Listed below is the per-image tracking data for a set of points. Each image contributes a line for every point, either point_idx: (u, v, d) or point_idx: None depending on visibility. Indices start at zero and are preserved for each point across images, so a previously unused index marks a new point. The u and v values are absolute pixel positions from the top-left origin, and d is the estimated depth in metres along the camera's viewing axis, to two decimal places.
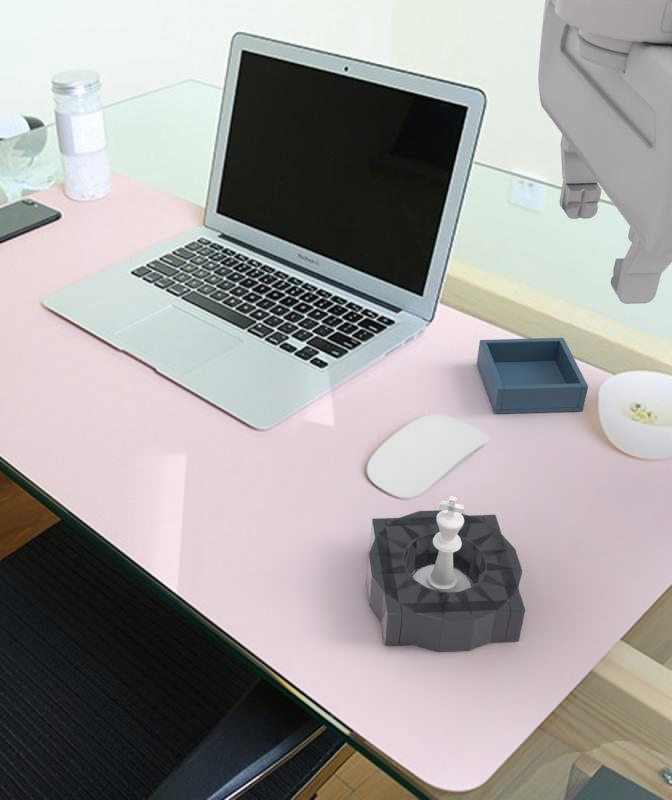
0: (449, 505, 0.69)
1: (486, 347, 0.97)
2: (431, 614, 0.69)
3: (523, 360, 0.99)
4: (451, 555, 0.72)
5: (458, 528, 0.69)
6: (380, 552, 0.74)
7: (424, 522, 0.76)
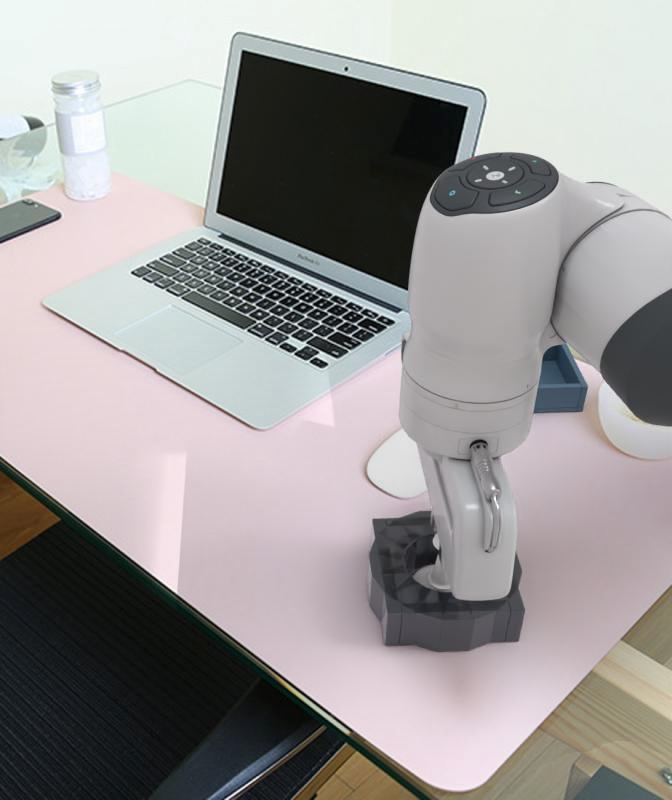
0: None
1: None
2: (431, 614, 0.69)
3: None
4: None
5: None
6: (380, 552, 0.74)
7: (424, 522, 0.76)
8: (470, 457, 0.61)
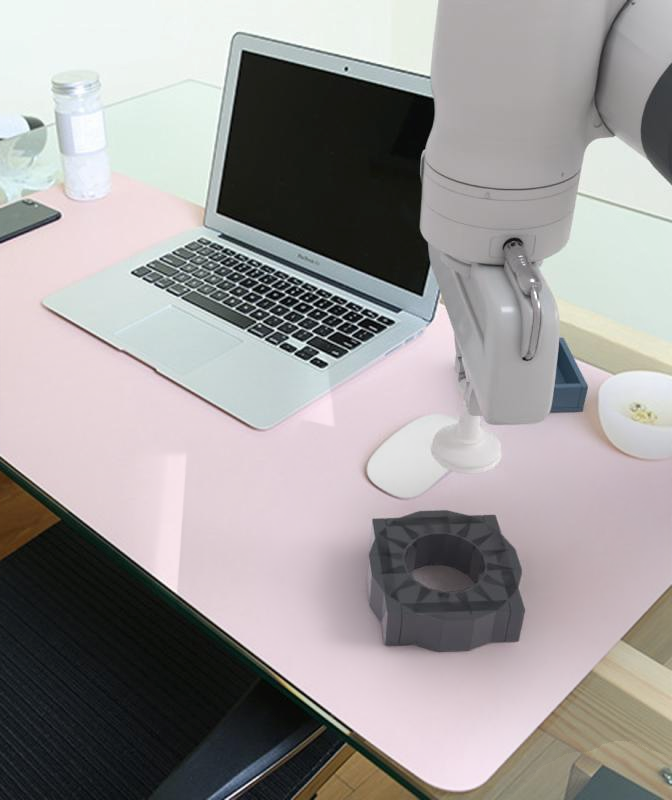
0: None
1: None
2: (431, 614, 0.69)
3: None
4: None
5: None
6: (380, 552, 0.74)
7: (424, 522, 0.76)
8: (503, 261, 0.54)
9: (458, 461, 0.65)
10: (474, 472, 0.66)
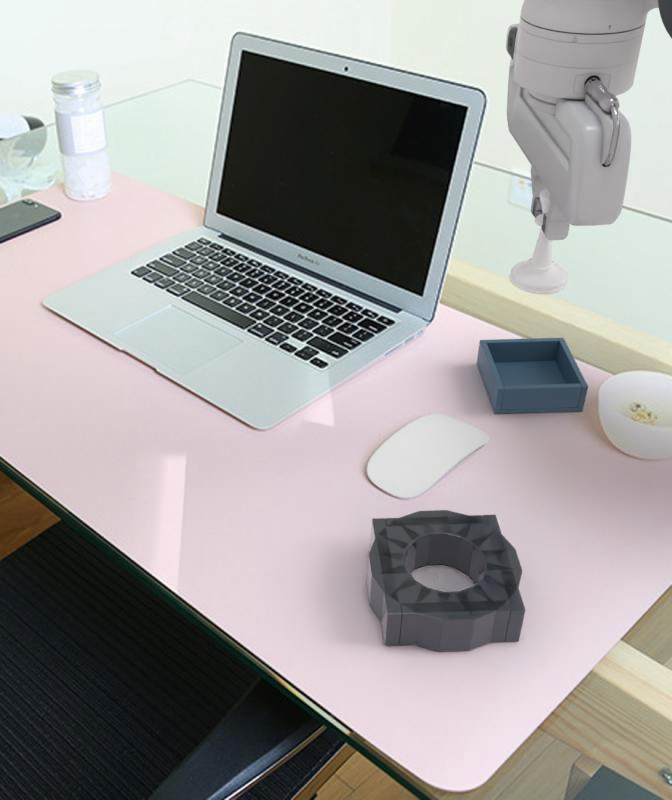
0: None
1: (486, 347, 0.97)
2: (431, 614, 0.69)
3: (523, 360, 0.99)
4: None
5: None
6: (380, 552, 0.74)
7: (424, 522, 0.76)
8: (584, 96, 0.68)
9: (534, 283, 0.80)
10: (547, 292, 0.80)
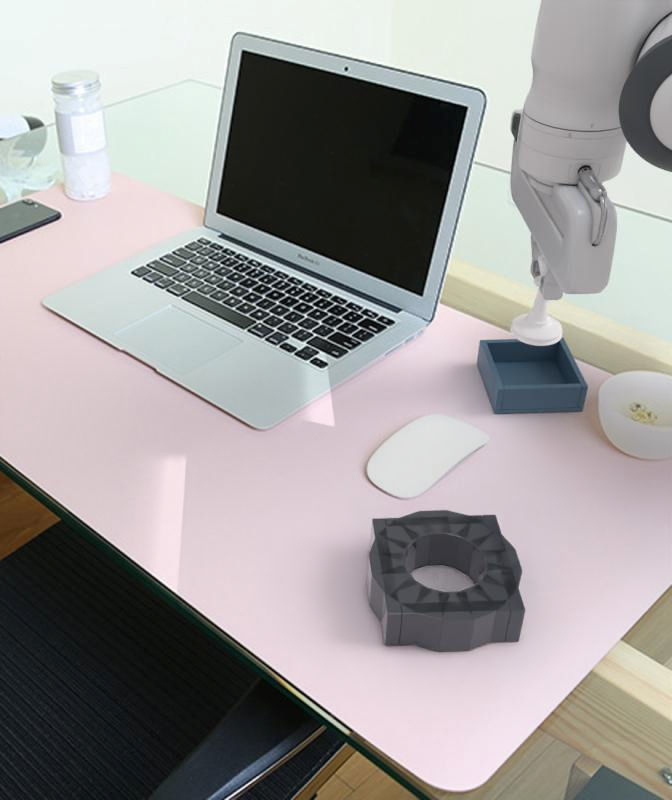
0: None
1: (486, 347, 0.97)
2: (431, 614, 0.69)
3: (523, 360, 0.99)
4: None
5: None
6: (380, 552, 0.74)
7: (424, 522, 0.76)
8: (577, 182, 0.79)
9: (532, 336, 0.91)
10: (543, 344, 0.91)
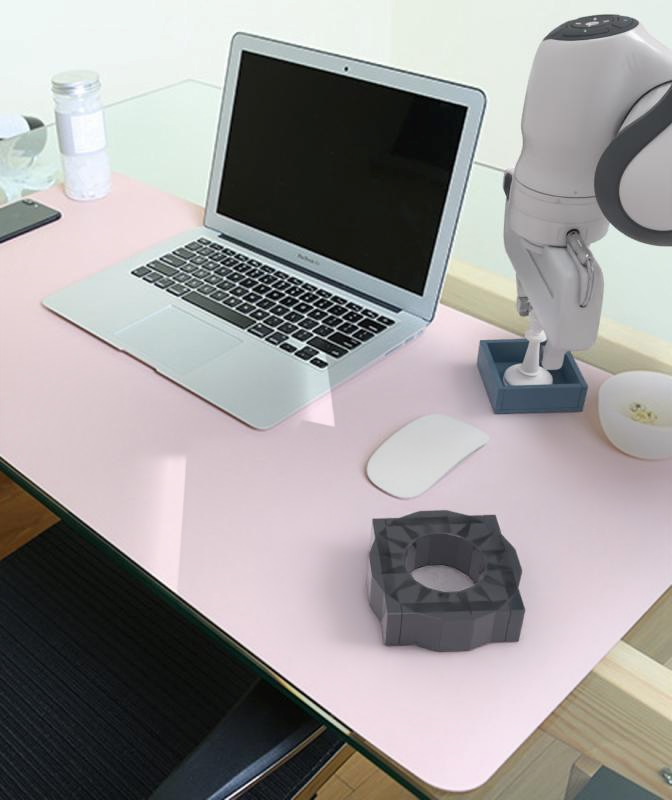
0: None
1: (486, 347, 0.97)
2: (431, 614, 0.69)
3: (523, 360, 0.99)
4: (538, 347, 0.93)
5: None
6: (380, 552, 0.74)
7: (424, 522, 0.76)
8: (566, 244, 0.82)
9: None
10: None
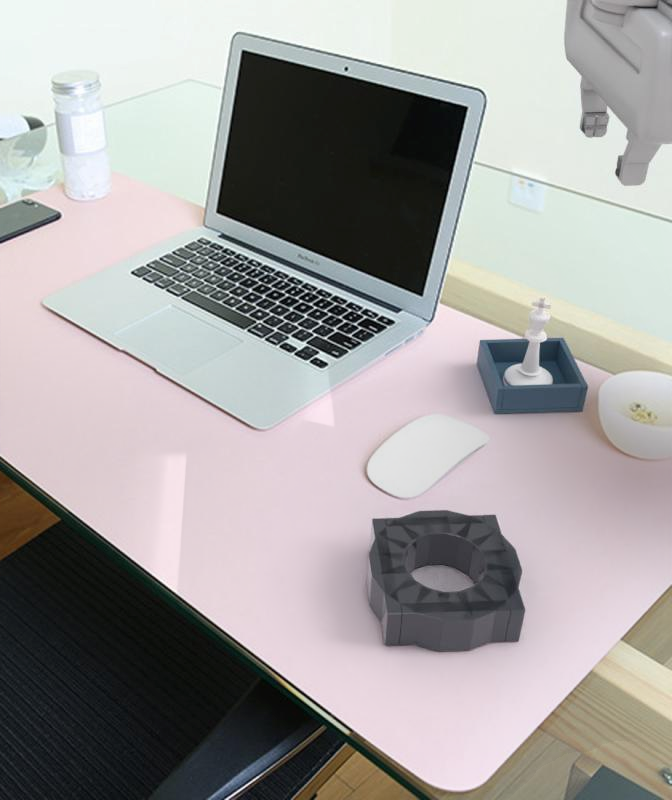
0: (539, 302, 0.91)
1: (486, 347, 0.97)
2: (431, 614, 0.69)
3: (523, 360, 0.99)
4: (538, 347, 0.93)
5: (546, 321, 0.91)
6: (380, 552, 0.74)
7: (424, 522, 0.76)
8: (657, 2, 0.63)
9: None
10: None
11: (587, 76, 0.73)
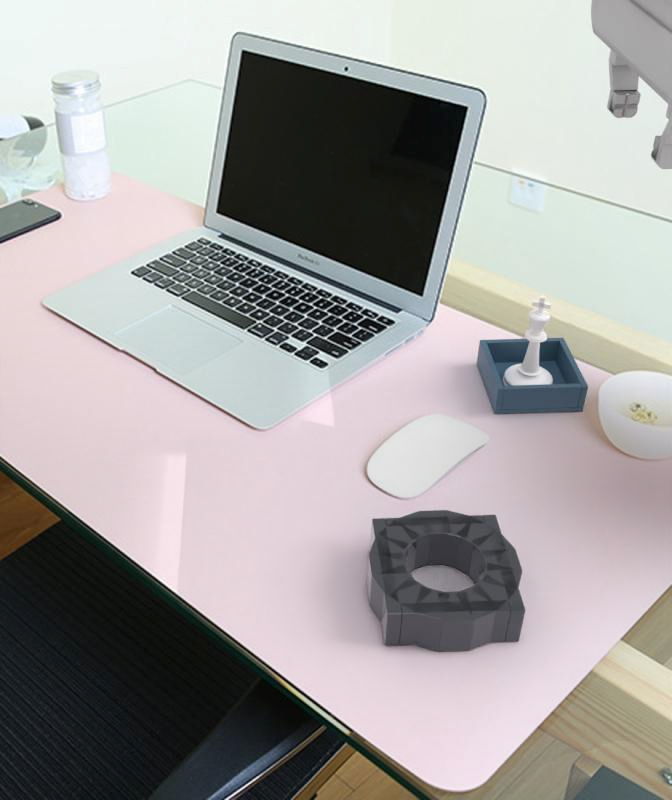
0: (539, 302, 0.91)
1: (486, 347, 0.97)
2: (431, 614, 0.69)
3: (523, 360, 0.99)
4: (538, 347, 0.93)
5: (546, 321, 0.91)
6: (380, 552, 0.74)
7: (424, 522, 0.76)
8: None
9: None
10: None
11: (619, 49, 0.67)
